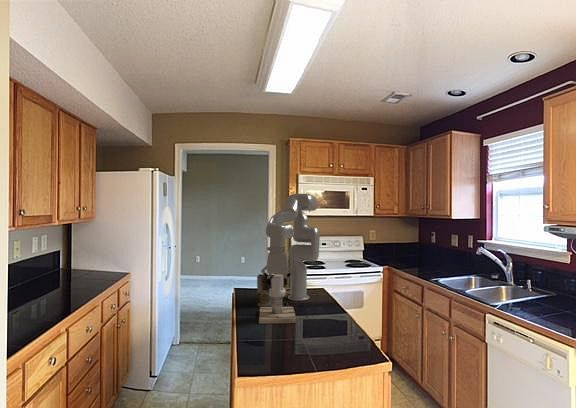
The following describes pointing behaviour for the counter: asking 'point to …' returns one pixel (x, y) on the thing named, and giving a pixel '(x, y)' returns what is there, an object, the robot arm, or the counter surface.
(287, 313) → the post base
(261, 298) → the coffee box
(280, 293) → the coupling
